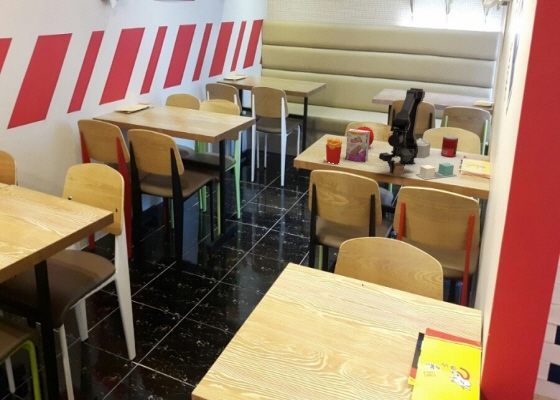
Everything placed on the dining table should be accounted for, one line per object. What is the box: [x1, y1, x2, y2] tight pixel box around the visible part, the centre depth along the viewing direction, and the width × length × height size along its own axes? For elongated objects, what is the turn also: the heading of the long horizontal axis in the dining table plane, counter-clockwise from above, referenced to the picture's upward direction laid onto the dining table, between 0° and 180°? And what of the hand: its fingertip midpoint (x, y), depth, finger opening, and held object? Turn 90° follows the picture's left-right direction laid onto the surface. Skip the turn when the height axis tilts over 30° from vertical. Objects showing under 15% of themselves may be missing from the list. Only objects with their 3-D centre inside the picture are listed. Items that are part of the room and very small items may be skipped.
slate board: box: [415, 171, 457, 181], centre depth 266 cm, size 9×19×1 cm, turn 111°
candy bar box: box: [345, 128, 370, 163], centre depth 287 cm, size 11×5×16 cm, turn 65°
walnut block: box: [389, 162, 405, 176], centre depth 269 cm, size 5×5×5 cm
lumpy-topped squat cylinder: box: [417, 137, 432, 159], centre depth 300 cm, size 10×13×9 cm
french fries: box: [325, 137, 343, 165], centre depth 283 cm, size 9×4×13 cm, turn 51°
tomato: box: [356, 126, 375, 147], centre depth 310 cm, size 11×11×13 cm
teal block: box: [437, 162, 455, 176], centre depth 267 cm, size 5×5×5 cm
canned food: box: [440, 134, 459, 158], centre depth 298 cm, size 8×8×11 cm
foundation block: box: [419, 164, 436, 179], centre depth 263 cm, size 5×5×5 cm
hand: (396, 171), depth 269 cm, fingers closed on walnut block, 5 cm apart
